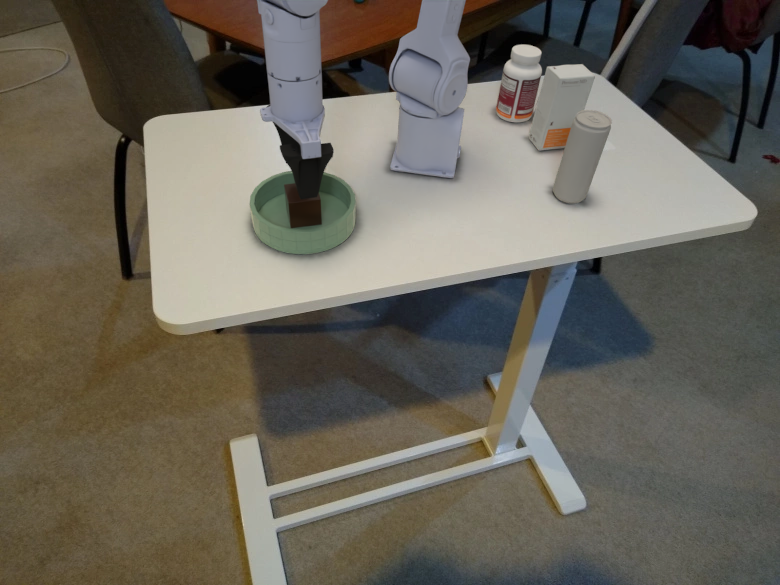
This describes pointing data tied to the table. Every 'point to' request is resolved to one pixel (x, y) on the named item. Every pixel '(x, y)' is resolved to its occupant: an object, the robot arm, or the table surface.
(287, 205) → the block
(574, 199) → the beverage can
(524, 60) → the pill bottle
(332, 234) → the bowl
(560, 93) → the cosmetic box
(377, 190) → the table surface
